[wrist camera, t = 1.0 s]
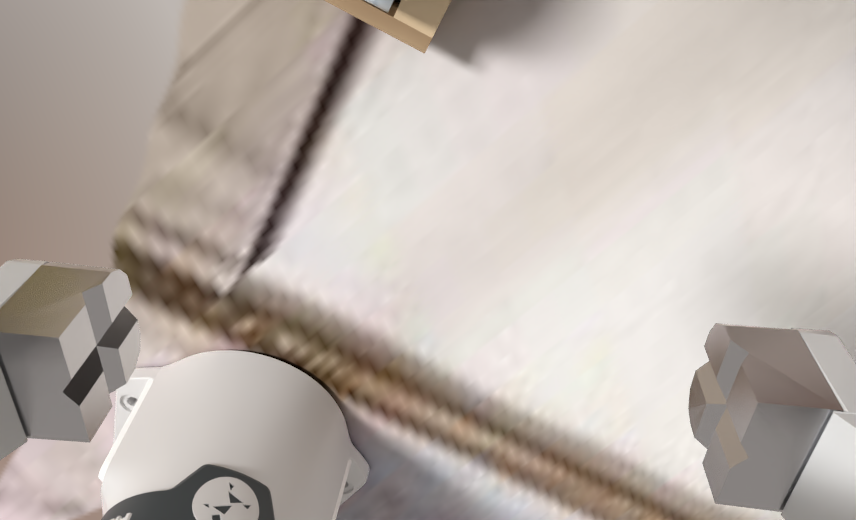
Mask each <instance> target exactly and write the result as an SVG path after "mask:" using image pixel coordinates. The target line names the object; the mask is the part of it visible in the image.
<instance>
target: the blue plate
mask: <svg viewBox="0 0 856 520" xmlns="http://www.w3.org/2000/svg"><path fill="white" fill-rule="evenodd" d="M365 1H367V2H369V3H371V4H372V5H374V6H376V7H378V8H380V9H382V10H384V11H386V12H387V13H388V12H389V10H390V8H391V6H392V4H393V1H394V0H365Z"/></svg>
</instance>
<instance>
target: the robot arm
mask: <svg viewBox="0 0 856 520" xmlns="http://www.w3.org/2000/svg"><path fill="white" fill-rule="evenodd" d="M131 296H132V292H131V288H130V284H129V280H128V277H127V275H126V274H125V273H124V272H122V271H121V270H120V269H111V268H102V267H93V266H84V265H75V264H66V263H57V262H46V261H36V260H26V259H15V260H10V261H6V262H5V263H4V264H3V265H2V266H1V267H0V460H1V459H3V458H4V457H6V456H7V455H8V454H10V453H11V452H13V451H14V450H16V449H17V448H18V447H20V446H21V445H23V444H24V443H26V442H27V438H35V439H49V440H64V441H78V442H90V441H91V440H92V438H93V437H94V435H95V433H96V432H97V430H98V429H99V427H100V425H101V424H102V422H103V421H104V419H105V417H106V416H107V414H108V413H109V411H110V409H111V408H112V403H111V399H110V395H109V393H111V392H113V391H115V390H116V403H115V421H114V440H113V447H112V449H111V450H110V452H109V454H108V456H107V458H106V460H105V462H104V463H103V465H102V468H101V470H100V473H99V479H100V480H101V481H102V486H101V503H102V512H103V518H102V519H101V520H336V517H337V513H338V510H339V506H340V505H341V504H342V503H344V502H345V501H346V500H347V499H348V498H349V497H351V496H352V495H353V494H354V493H355V492H356V491H358V490H359V489H360V488H361V487H362V486H363V485H364V484H365V483H366V481H367V478H368V474H369V471H370V468H369V465H368V463H367V462H366V460H365V459H364V458H363V456H362V455H361V454H360V453H359V451H358V450H357V449H356V448H355V447H354V446H353V445H352V442H351V440H350V437H349V434H348V429H347V425H346V422H345V419H344V416H343V414H342V412H341V410H340V408H339V407H338V405H337V403H336V402H335V400H334V399H333V398H332V397H331V395H330V394H329V393H328V392H327V391H326V390H325V389H324V388H323V387H322V386H321V385H320V384H319V383H317V382H316V381H315V380H314V379H312V378H311V377H310V376H308V375H307V374H305V373H304V372H302V371H300V370H299V369H297V368H295V367H293V366H291V365H289V364H287V363H285V362H282V361H280V360H277V359H274V358H271V357H268V356H265V355H261V354H256V353H251V352H245V351H234V350H219V351H209V352H203V353H198V354H195V355H191V356H189V357H186V358H184V359H181V360H179V361H177V362H175V363H172V364H170V365H167V366H163V367H145V368H135V367H136V364H137V360H138V356H139V352H140V329H139V324H138V320H137V319H136V318H135V317H134V316H133V315H132V314H131V313H130V312H129V310H128V309H127V308H126V307H125V304H126V303H127V301H128V300H129V298H130V297H131ZM704 347H705V350H706V352H707V355H708V358H709V362H707V363H706V364H704V365H703V366H702V367H700V368H699V369H698V370H696V371H695V375H694V378H693V381H692V385H691V388H690V397H689V416H690V424H691V427H692V430H693V434H694V437H695V438H696V439H697V440H698V441H699V442H700V443H701V444H702V445H704V446H705V447H706V448H707V449H708V450H707V453H706V455H705V458H704V461H703V466H704V469H705V473H706V476H707V479H708V482H709V485H710V488H711V491H712V494H713V498H714V501H715V504H723V505H731V506H739V507H747V508H755V509H763V510H772V511H780V512H782V513H781V515H782V517H783V518H784V519H785V520H856V363H855V362H854V360H853V359H852V357H851V355H850V354H849V352H848V351H847V349H846V348H845V346H844V345H843V343H842V341H841V340H840V338H839V337H838V336H837V335H836V334H834V333H833V332H831V331H827V330H811V329H794V328H791V329H779V328H767V327H755V326H743V325H731V324H719V323H716V324H715V325H714V326H713V328H712V329H711V330H710V332H709V335H708V337H707V340H706V343H705V346H704Z"/></svg>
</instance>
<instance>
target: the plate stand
mask: <svg viewBox="0 0 856 520" xmlns="http://www.w3.org/2000/svg"><path fill="white" fill-rule="evenodd" d="M324 1H326V2H328V3H330V4H332V5H334V6H336V7H338V8H340V9H341V10H343V11H345V12H347V13H349V14H351V15H353V16H355V17H357V18H358V19H360V20H362V21H364V22H366V23H368V24H370V25H372V26H374V27H375V28H377V29H379V30H381V31H383V32H385V33H387V34H389V35H391V36H392V37H394V38H396V39H398V40H400V41H402V42H404V43H406V44H408V45H409V46H411V47H413V48H415V49H417V50H419V51H421V52H423V53H425V51H426V49H427V48H428V46H429V44H430V42H431V40H432V38H433V36H434V34H435V32H436V30H437V28H438V26H439V24H440V22H441V20H442V18H443V16H444V14H445V12H446V10H447V8H448V6H449V4H450V2H451V0H401V2H400V3H398V2H397V1H395V0H394V1H393V4H392V6H391V8H390V10H389V12H388V13H387V12H386V11H384V10H382V9H380V8H378V7H376V6H374V5H372V4H371V3H369V2H367V1H365V0H324Z"/></svg>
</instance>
